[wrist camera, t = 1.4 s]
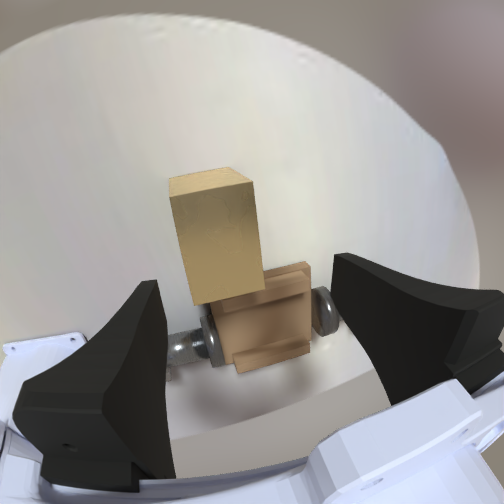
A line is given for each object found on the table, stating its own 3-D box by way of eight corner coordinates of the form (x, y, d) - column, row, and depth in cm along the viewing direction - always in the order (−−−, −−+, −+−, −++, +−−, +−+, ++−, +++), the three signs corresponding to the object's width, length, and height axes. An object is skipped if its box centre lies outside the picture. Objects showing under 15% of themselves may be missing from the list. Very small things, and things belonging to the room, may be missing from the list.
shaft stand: (157, 371, 24) (159, 405, 21) (129, 301, 21) (124, 333, 18) (361, 315, 28) (383, 338, 25) (366, 245, 25) (394, 264, 21)
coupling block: (240, 248, 22) (265, 288, 17) (186, 260, 21) (194, 305, 16) (228, 167, 19) (252, 181, 14) (169, 178, 19) (169, 197, 13)
